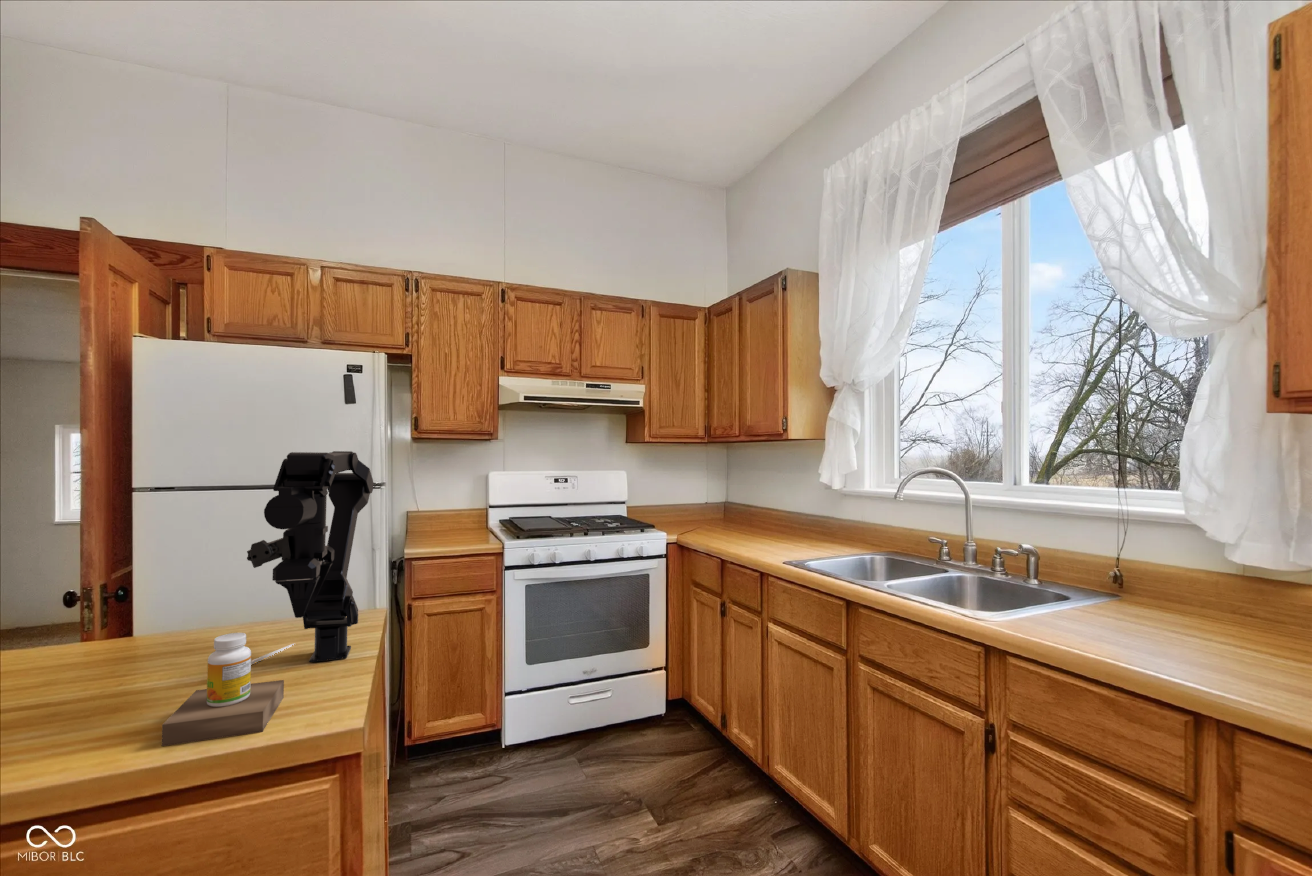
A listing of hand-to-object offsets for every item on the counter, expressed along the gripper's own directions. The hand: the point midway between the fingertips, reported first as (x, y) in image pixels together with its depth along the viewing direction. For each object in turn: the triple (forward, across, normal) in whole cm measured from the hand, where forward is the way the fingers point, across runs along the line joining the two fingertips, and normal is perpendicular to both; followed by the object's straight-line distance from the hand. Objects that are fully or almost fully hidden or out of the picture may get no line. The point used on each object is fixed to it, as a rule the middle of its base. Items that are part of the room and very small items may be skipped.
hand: (304, 610), depth 100 cm
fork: (+14, -16, -10) cm, 23 cm away
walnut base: (+13, +11, -8) cm, 19 cm away
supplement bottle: (+10, +11, -8) cm, 17 cm away
